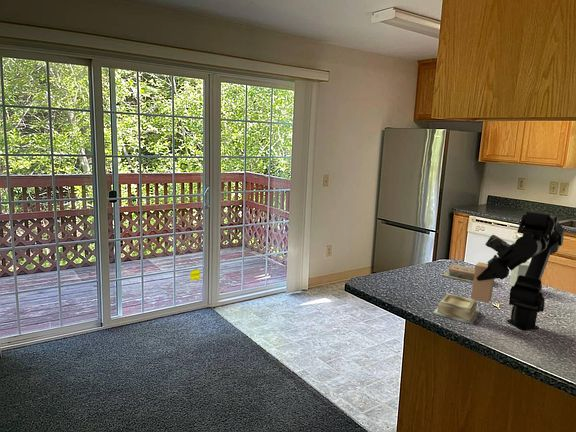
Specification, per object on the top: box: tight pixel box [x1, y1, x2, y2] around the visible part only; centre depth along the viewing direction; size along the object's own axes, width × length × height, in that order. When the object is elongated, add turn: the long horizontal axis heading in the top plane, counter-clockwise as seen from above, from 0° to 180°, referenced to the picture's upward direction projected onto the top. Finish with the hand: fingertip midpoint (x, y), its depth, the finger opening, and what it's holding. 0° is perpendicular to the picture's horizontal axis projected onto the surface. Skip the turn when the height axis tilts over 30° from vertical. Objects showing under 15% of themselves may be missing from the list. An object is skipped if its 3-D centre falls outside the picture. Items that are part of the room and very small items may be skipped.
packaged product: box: [442, 263, 475, 284], centre depth 175 cm, size 18×5×10 cm
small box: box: [508, 260, 531, 287], centre depth 166 cm, size 8×6×10 cm
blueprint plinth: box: [432, 293, 481, 325], centre depth 140 cm, size 12×12×4 cm
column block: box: [470, 261, 495, 304], centre depth 134 cm, size 5×5×11 cm
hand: (479, 277), depth 135 cm, fingers closed on column block, 5 cm apart
